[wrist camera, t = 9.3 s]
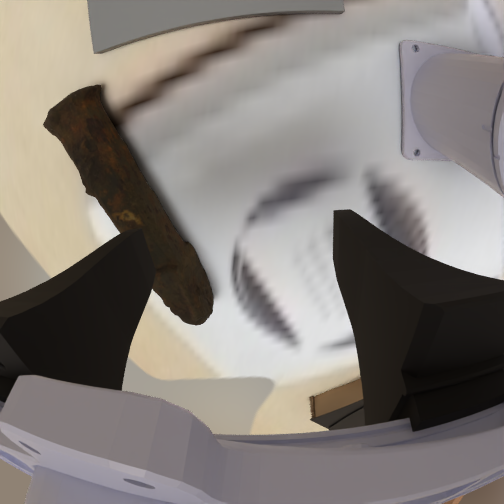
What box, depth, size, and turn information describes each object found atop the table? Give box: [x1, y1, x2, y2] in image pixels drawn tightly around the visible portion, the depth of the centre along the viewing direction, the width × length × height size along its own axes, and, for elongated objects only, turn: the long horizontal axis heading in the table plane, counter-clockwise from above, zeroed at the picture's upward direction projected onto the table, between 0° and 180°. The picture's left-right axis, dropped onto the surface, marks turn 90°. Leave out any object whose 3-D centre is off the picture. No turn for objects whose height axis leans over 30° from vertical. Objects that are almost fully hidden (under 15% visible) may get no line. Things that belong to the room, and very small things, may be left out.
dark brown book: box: [309, 353, 504, 431], centre depth 31 cm, size 33×4×24 cm
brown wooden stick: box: [43, 85, 214, 325], centre depth 19 cm, size 19×4×5 cm, turn 24°
